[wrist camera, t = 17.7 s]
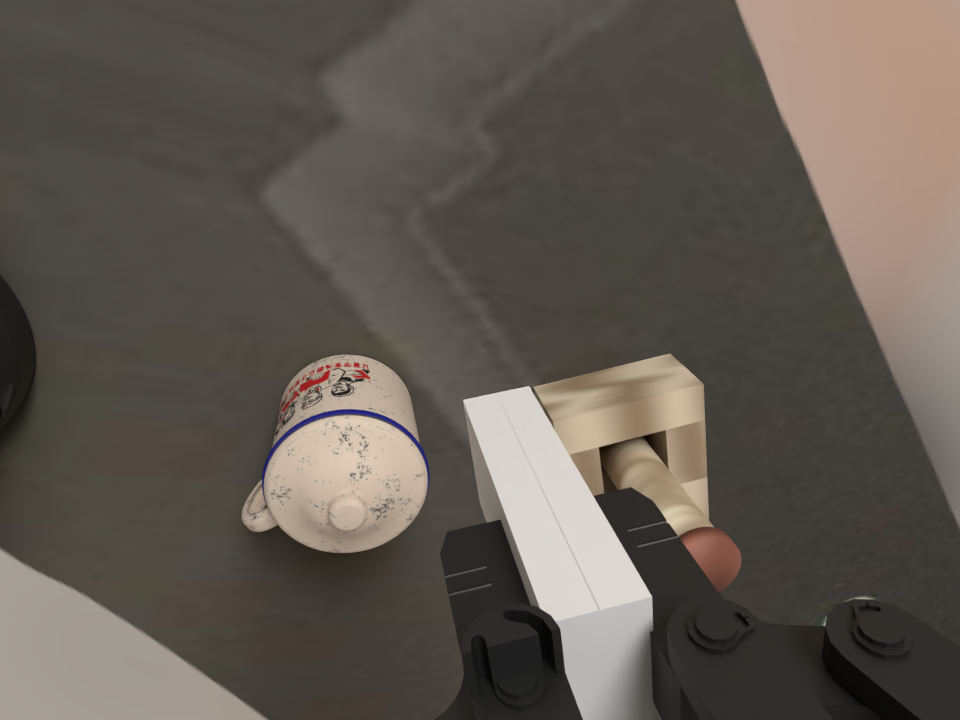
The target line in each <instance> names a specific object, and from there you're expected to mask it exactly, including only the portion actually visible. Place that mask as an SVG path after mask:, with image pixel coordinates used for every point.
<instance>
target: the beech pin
mask: <svg viewBox="0 0 960 720" xmlns="http://www.w3.org/2000/svg"><path fill="white" fill-rule="evenodd" d="M599 454H600V462H601V464H602V466H603V467H604V469H605V470H606V472H607V474H608V475H609V477H610V478H611V480H612V481H613V483H614V485H615V486H616V488H617V489H618V490H621V489H625V488H629V487H632V488H633V489H635V490H637V491H638V492H640V493H641V494H643V495H645V496H646V497H648V498H649V499H651V500H653V501H654V503H655V504H656V506H657V507H658V508H659V510H660V511H661V513H662V514H663V515H664V517H665V518H666V521H667V523H669V524H670V525H671V527H672V528H673V529H674V531H675V532H676V534H677V537H678V539H681V541H682V542H683V544H684V545H685V546H686V548H687V549H688V551H689V552H690V553H691V555H692V556H693V558H694V559H695V560H696V562H697V563H698V565H699V566H700V567H701V569H702V570H703V572H704V573H705V574H706V576H707V577H708V579H709V580H710V581H711V583H712V584H713V586H714V587H715V588H716V590H717V591H718V592H720V591H722V590H723V589H725V588H726V587H727V586H728V585H729V584H730V583H731V582H732V581H733V580H734V579H735V577H736V576H737V574H738V572H739V569H740V566H741V554H740V551H739V549H738V548H737V546H736V545H735V544H734V543H733V541H732V540H731V539H730V538H729V537H728V535H727V534H726V533H725V532H723V531H722V530H720V529H718V528H714V527H713V525H712V524H711V523H710V521H709V520H708V519H707V518H706V516H705V515H704V514H703V513H702V511H701V510H700V509H699V508H698V506H697V505H696V504H695V502H694V501H693V500H692V499H691V497H690V496H689V495H688V494H687V492H686V491H685V490H684V489H683V487H682V486H681V485H680V483H679V482H678V481H677V480H676V478H675V477H674V476H673V475H672V473H671V472H670V471H669V469H668V468H667V467H666V466H665V464H664V463H663V462H662V461H661V459H660V458H659V457H658V456H657V454H656V453H655V452H654V450H653V449H652V448H651V447H650V445H649V444H648V443H647V442H646V440H645V439H644V438H643V437H642V436H640V437H636V438H633V439H629V440H625V441H621V442H617V443H613V444H609V445H605V446H601V447H599Z"/></svg>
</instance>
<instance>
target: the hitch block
mask: <svg viewBox="0 0 960 720" xmlns="http://www.w3.org/2000/svg"><path fill="white" fill-rule="evenodd" d="M533 388H534V394H535V397H536V399H537V401H538V402H539V404H540V406H541V408H542V409H543V411H544V413H545V414H546V416H547V418H548V420H549V421H550V423H551V425H552V426H553V428H554V430H555V432H556V433H557V435H558V437H559V438H560V440H561V442H562V443H563V445H564V447H565V449H566V450H567V452H568V454H569V455H570V457H571V459H572V461H573V462H574V464H575V466H576V467H577V469H578V471H579V473H580V474H581V476H582V478H583V479H584V481H585V483H586V485H587V486H588V488H589V490H590V491H591V493H592V495H593V496H595V495H599V494H603V493H608V492H612V491H616V490H618V489H617V488H616V486H615V485H614V483H613V481H612V480H611V478H610V477H609V475H608V474H607V472H606V470H605V469H604V467H603V466H602V464H601V462H600V454H599V447H601V446H605V445H609V444H613V443H617V442H621V441H625V440H629V439H633V438H636V437H640V436H642V437H643V438H644V439H645V440H646V442H647V443H648V444H649V445H650V447H651V448H652V449H653V450H654V452H655V453H656V454H657V456H658V457H659V458H660V459H661V461H662V462H663V463H664V464H665V466H666V467H667V468H668V469H669V471H670V472H671V473H672V475H673V476H674V477H675V478H676V480H677V481H678V482H679V483H680V485H681V486H682V487H683V489H684V490H685V491H686V492H687V494H688V495H689V496H690V497H691V499H692V500H693V501H694V502H695V504H696V505H697V506H698V508H699V509H700V510H701V511H702V513H703V514H704V515H705V516H706V518H707V519H708V520H709V511H708V485H707V460H706V435H705V410H704V384H703V383H702V382H701V381H700V380H699V379H697V378H696V377H695V376H694V375H693V374H692V373H691V372H690V371H689V370H688V369H686V368H685V367H684V366H683V365H682V364H681V363H680V362H679V361H678V360H677V359H675V358H674V357H673V356H672V355H671V354H666V355H662V356H658V357H654V358H650V359H645V360H641V361H637V362H633V363H629V364H625V365H621V366H617V367H613V368H609V369H605V370H601V371H597V372H593V373H588V374H584V375H580V376H576V377H572V378H568V379H564V380H560V381H556V382H552V383H548V384H544V385H540V386H536V387H533Z"/></svg>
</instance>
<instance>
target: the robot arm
mask: <svg viewBox="0 0 960 720" xmlns="http://www.w3.org/2000/svg"><path fill="white" fill-rule="evenodd" d="M34 365H35V351H34V342H33V337H32V333H31V329H30V326H29V323H28V320H27V318H26V315H25V313H24V311H23V309H22V307H21V305H20V303H19V301H18V299H17V298H16V296H15V295H14V293H13V292H12V290H11V289H10V287H9V286H8V285H7V283H6V282H5V281H4V280H3V278H2V277H1V276H0V429H1V428H2V427H3V426H4V425H5V424H6V423H7V422H8V421H9V420H10V419H11V418H12V416H13V415H14V414H15V413H16V412H17V410H18V409H19V408H20V406H21V405H22V403H23V401H24V399H25V397H26V396H27V393H28V391H29V388H30V386H31V382H32V379H33V373H34ZM463 403H464V409H465V415H466V421H467V427H468V433H469V440H470V446H471V452H472V458H473V464H474V470H475V476H476V482H477V488H478V494H479V500H480V504H481V507H482V510H483V513H484V516H485V519H486V522H487V523H483V524H479V525H475V526H470V527H466V528H462V529H458V530H453V531H449V532H447V535H446V538H445V540H444V543H443V546H442V549H441V552H440V555H441V560H442V565H443V570H444V574H445V579H446V584H447V589H448V594H449V599H450V604H451V609H452V614H453V619H454V623H455V628H456V633H457V638H458V643H459V647H460V652H461V657H462V662H463V666H464V677H463V682H462V686H461V689H460V691H459V693H458V695H457V697H456V699H455V700H454V702H453V703H452V704H451V705H450V706H449V708H448V709H447V710H446V711H445V712H444V713H443V714H441V715H440V716H439V717H437V718H436V719H435V720H656V708H657V710H658V712H659V714H660V716H661V718H662V720H960V647H959V646H958V645H956V644H955V643H953V642H952V641H950V640H949V639H947V638H946V637H945V636H943V635H942V634H940V633H939V632H937V631H936V630H934V629H933V628H932V627H930V626H929V625H927V624H926V623H924V622H923V621H921V620H920V619H919V618H917V617H916V616H914V615H912V614H910V613H908V612H907V611H905V610H903V609H901V608H899V607H897V606H895V605H892V604H888V603H884V602H881V601H877V600H868V599H853V600H850V601H846V602H843V603H840V604H838V605H836V606H835V607H834V608H833V609H832V610H831V611H830V612H829V613H828V615H827V620H826V625H825V626H801V625H779V624H770V623H766V622H763V621H759V620H758V619H757V618H756V617H755V616H754V615H753V614H752V613H751V612H750V611H748V610H747V609H746V608H744V607H742V606H740V605H738V604H736V603H734V602H732V601H729V600H724V599H723V598H722V596H721V595H720V594H719V593H718V591H717V590H716V588H715V587H714V586H713V584H712V583H711V581H710V580H709V579H708V577H707V576H706V574H705V573H704V572H703V570H702V569H701V567H700V566H699V565H698V563H697V562H696V560H695V559H694V558H693V556H692V555H691V553H690V552H689V551H688V549H687V548H686V546H685V545H684V544H683V542H682V541H681V539H678V537H677V534H676V532H675V531H674V529H673V528H672V527H671V525H670V524H669V523H667V521H666V518H665V517H664V515H663V514H662V513H661V511H660V510H659V508H658V507H657V506H656V504H655V503H654V501H653V500H651V499H649V498H648V497H646V496H645V495H643V494H641V493H640V492H638V491H637V490H635V489H633V488H632V487H629V488H625V489H621V490H616V491H612V492H608V493H603V494H599V495H595V496H593V495H592V493H591V491H590V490H589V488H588V486H587V485H586V483H585V481H584V479H583V478H582V476H581V474H580V473H579V471H578V469H577V467H576V466H575V464H574V462H573V461H572V459H571V457H570V455H569V454H568V452H567V450H566V449H565V447H564V445H563V443H562V442H561V440H560V438H559V437H558V435H557V433H556V432H555V430H554V428H553V426H552V425H551V423H550V421H549V420H548V418H547V416H546V414H545V413H544V411H543V409H542V408H541V406H540V404H539V402H538V401H537V399H536V397H535V396H534V394H533V392H532V391H531V389H530V387H529V386H527V387H523V388H518V389H513V390H508V391H504V392H499V393H494V394H489V395H485V396H480V397H475V398H471V399H466V400H463Z"/></svg>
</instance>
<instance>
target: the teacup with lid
mask: <svg viewBox="0 0 960 720" xmlns="http://www.w3.org/2000/svg"><path fill="white" fill-rule="evenodd" d="M428 487H429V467H428V462H427V459H426V456H425V453H424V451H423V449H422V447H421V446H420V443H419V438H418V433H417V427H416V422H415V417H414V412H413V407H412V402H411V398H410V395H409V392H408V390H407V388H406V386H405V384H404V383H403V381H402V380H401V379H400V378H399V376H398V375H397V374H396V373H395V372H394V371H392V370H391V369H390V368H389V367H387V366H385V365H384V364H382V363H380V362H378V361H376V360H373V359H371V358H367V357H364V356H358V355H336V356H331V357H327V358H323V359H321V360H318V361H316V362H314V363H312V364H310V365H308V366H307V367H305V368H304V369H303V370H301V371H300V372H299V373H298V374H297V375H296V376H295V377H294V378H293V379H292V380H291V382H290V383H289V385H288V386H287V388H286V390H285V392H284V394H283V397H282V400H281V404H280V409H279V414H278V419H277V425H276V430H275V436H274V441H273V446H272V450H271V451H270V453H269V455H268V457H267V459H266V462H265V465H264V469H263V474H262V480H261V481H260V482H259V483H258V484H257V485H256V487H255V488H254V489H253V491H252V492H251V494H250V495H249V497H248V498H247V500H246V502H245V505H244V507H243V510H242V521H243V523H244V524H245V525H246V526H247V527H248V528H249V529H250V530H252V531H254V532H262V531H266V530H269V529H271V528H273V527H275V526H276V525H278V526H279V527H280V528H281V529H282V530H283V531H284V532H285V533H287V534H288V535H289V536H290V537H292V538H293V539H295V540H296V541H298V542H300V543H302V544H304V545H306V546H308V547H311V548H313V549H317V550H320V551H325V552H332V553H353V552H360V551H365V550H368V549H372V548H375V547H377V546H380V545H382V544H384V543H386V542H388V541H390V540H391V539H393V538H395V537H396V536H397V535H399V534H400V533H401V532H402V531H404V530H405V529H406V528H407V527H408V526H409V525H410V524H411V522H412V521H413V520H414V519H415V517H416V516H417V515H418V513H419V511H420V509H421V508H422V505H423V503H424V501H425V498H426V495H427V492H428ZM266 505H267V508H265V506H266ZM264 508H265V509H264Z"/></svg>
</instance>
